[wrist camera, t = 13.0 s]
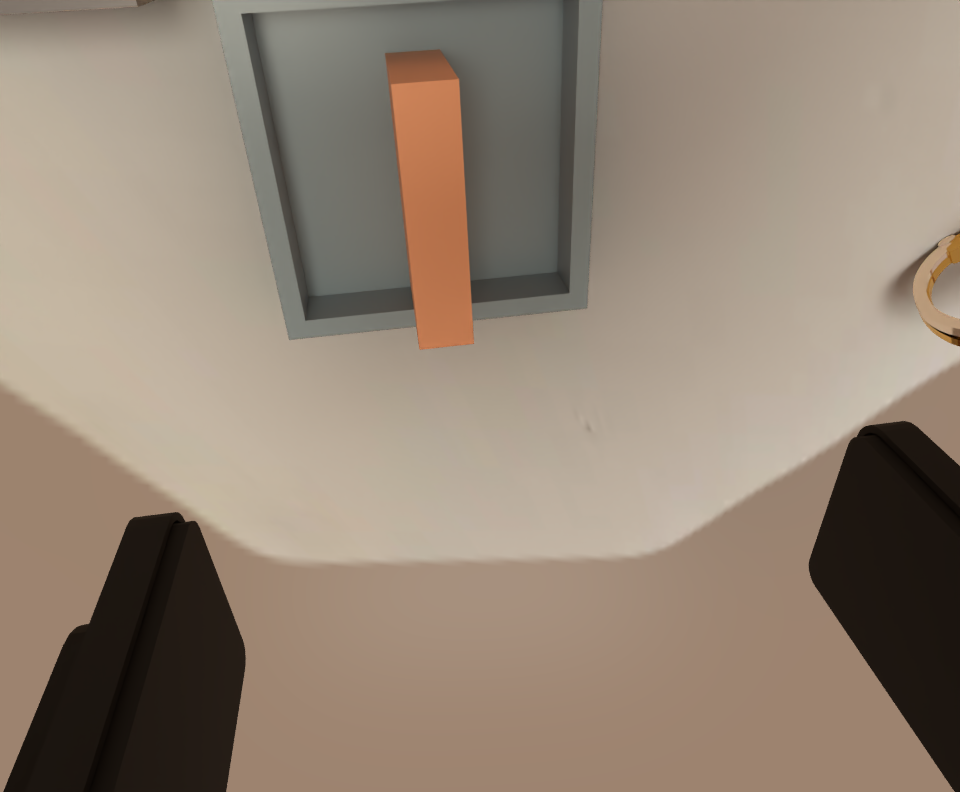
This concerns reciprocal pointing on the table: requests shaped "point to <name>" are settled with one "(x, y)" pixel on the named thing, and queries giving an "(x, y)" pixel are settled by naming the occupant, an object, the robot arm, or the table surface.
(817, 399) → the table surface
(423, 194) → the upright orange panel
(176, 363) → the table surface
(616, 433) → the table surface
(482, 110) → the tray
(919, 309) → the ring
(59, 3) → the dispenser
